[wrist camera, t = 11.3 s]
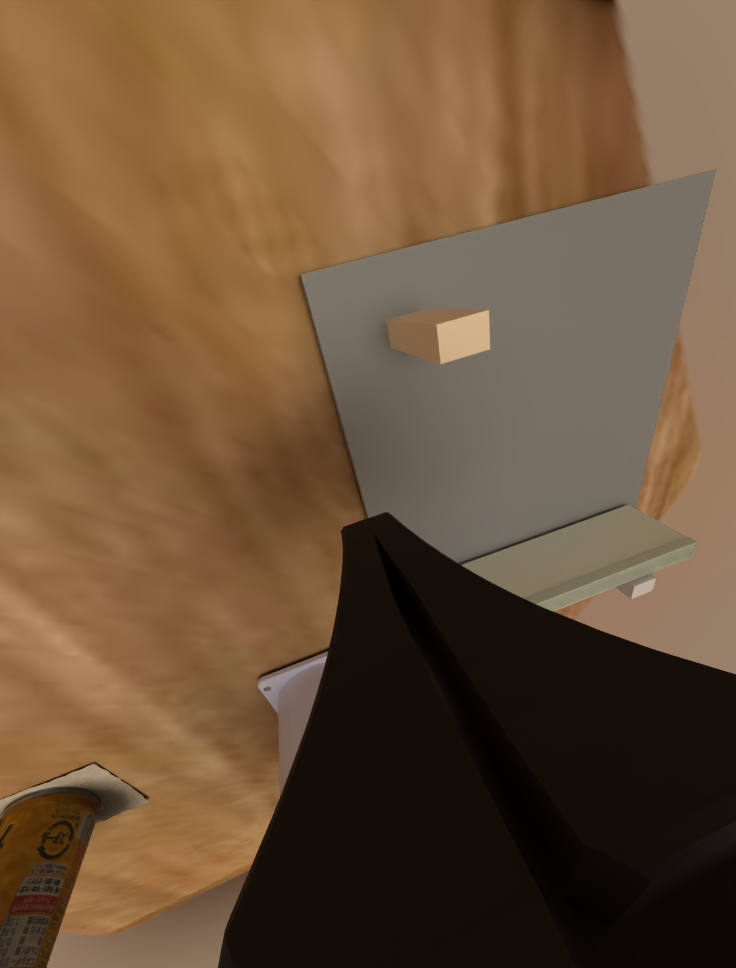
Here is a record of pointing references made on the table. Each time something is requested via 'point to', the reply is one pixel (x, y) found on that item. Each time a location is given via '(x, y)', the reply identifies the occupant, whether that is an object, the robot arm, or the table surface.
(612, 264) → the grey square baseplate
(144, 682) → the table surface
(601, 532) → the gate
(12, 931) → the condiment
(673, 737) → the robot arm
